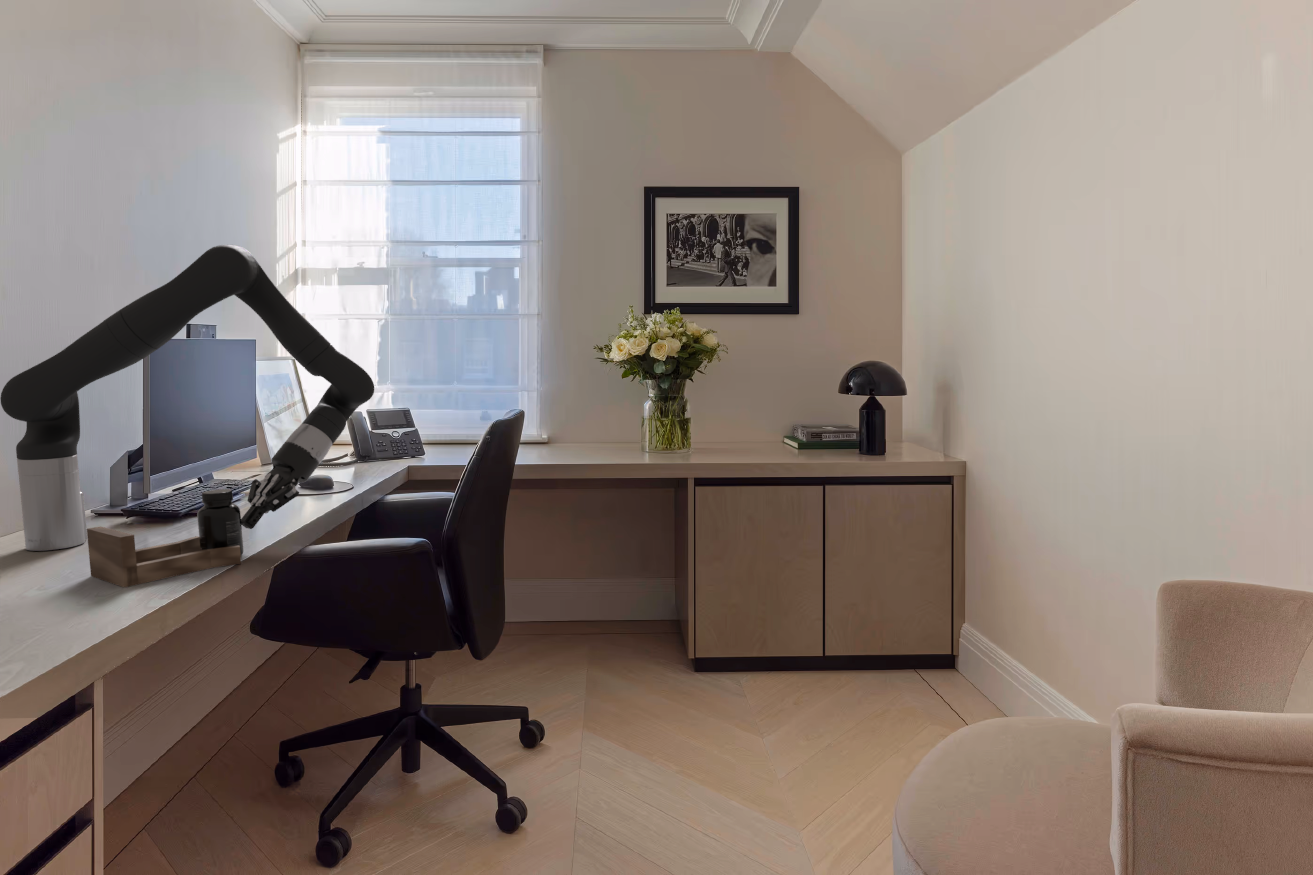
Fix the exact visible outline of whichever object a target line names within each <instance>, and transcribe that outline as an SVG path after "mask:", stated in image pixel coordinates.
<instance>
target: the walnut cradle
mask: <svg viewBox="0 0 1313 875" xmlns="http://www.w3.org/2000/svg"><path fill="white" fill-rule="evenodd" d="M86 529H87V544H88V545H87V546H88V548H87V549H88V557H89V567H90V569H89V570H90V577H92V578H94V579H98V580H101V581H104V582H107V583H110V584H113V585H117V586H119V587H122V588H128V587H133V586H137V585H141V584H147V583H151V582H155V581H159V580H164V579H168V578H172V577H176V576H182V575H186V574H190V573H196V572H199V571H204V570H205V571H206V570H209V569H212V568H213V569H214V568H221V567H227V566H234V565H240V564H242V558H241V557H242V555H241V553H240V546H239V545H238V546H230V547H223V548H215V549H207V550H201V551H200V540H199V535H198V536H192V537H189V538H185V539H181V540H177V541H174V542H168V543H164V544H159V545H153V546H148V547H143V548H137V549H136V541H135V534H132V533H127V532H124V531H121V530H120V531H119V530H116V529H112V528H109V527H104V526H95V527H89V528H86Z"/></svg>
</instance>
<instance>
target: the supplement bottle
mask: <svg viewBox="0 0 1313 875" xmlns="http://www.w3.org/2000/svg"><path fill="white" fill-rule="evenodd" d="M201 498H202V500H201V503H202V504H203V506H202V507H201V508H200V509H199V510H198V511H197V514H196V515H197V517H196V518H197V529H198V536H199V540H200V551H201V550H207V549H215V548H223V547H230V546H238V545H239V546H240V553H241V556H243V554H244V540H243V528H242V527H243V525H241V519H242V517H241V516H242V515H241V509H240V507H239V505H237V504H235V503H233V501H234V496H233V490H232V489H229V488H227V489H226V488H225V489H223V488H222V489H213V490H211V489H210V490H206V491H203V492H201Z"/></svg>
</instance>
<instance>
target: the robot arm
mask: <svg viewBox="0 0 1313 875" xmlns="http://www.w3.org/2000/svg"><path fill="white" fill-rule="evenodd" d="M232 296H235V297H236V298H238V299H240V301H242V302H243V303H244V304H245V305H247V306H248V307H249V308H250V309H251V310H253V311H254V312H255V313H256V314H257V315H258V316H259V318H260V319H261V320H262V321H263V322H264V323H265V325H266V326H267V327H268V329H269V330H270V331H271V332H272V334H273V335H274V337H275V338H276V339H277V341H278V342H279V344H281V346H282V347H283V349H285V351H286V352H287V353H288V354H290V356H291V357H292V358H293V359H294V360H295V361H297V363H299V364H300V365H301V366H302V367H303V368H304V369H305V371H307V372H308V374H310V375H312V376H313V377H322V378H323V379H324V380H326V381H327V382H328V383H330V385H329V386H328V388H327V389H326V390H325V392H324V393H323V395H322V397H321V398H320V400H319V401H318V404H317V405H316V406H315V407H314V408H313V409H312V410H311V412H310V413H309V414H308V415H307V416H306V418H305V419H304V420H303V421H302V423H301V424H300V425H299V426H298V427H297V428H296V429H295V430H294V431H293V432H292V433H291V434H290V435H289V437H287V439H286V440H285V442H284V443H283V444H282V445H281V446H280V448H279V449H278V450H277V451H276V453H275V454H274V455H273V456H272V458H271V464H272V467H273V468H272V469H271V470H270V471H268V472H267V473H266V475H265V476H264V478H263V479H261V480H258V479H257V478H255V479H253V480H252V481H251V484H250V489H249V492H248V497H247V502H248V503H249V504H250V507H249V509H248V510H247V511H246V512H245V514H243V515H242V517H241V526H242V527H244V528H245V529H249V530H252V529H254V528H255V527H256V525H257V524H258V523H259V521H260V520H261V519H262V517H263V516H264V515H265V514H268V513H269V512H270V511H271V512H273V513H275V512H276V511H278V510H279V509H280V508H282V507H283V506H285V505H287V504H288V503H289V502H291V501H292V500H293V499H295V498H297V497H298V496H299V494H300V492H299V491H298V489H297V488H296V487H297V486H298V484H299V483H305V482H307V481H308V480H309V479H310V477H311V476H312V475H313V473H314V472H315V471H316V469H317V468H318V467H319V465H320V464H321V463H322V462H323V460H324V459H325V457H326V456H327V455H328V453H329V452H330V449H331V448H332V446H333V445H334V443H335V442H336V441H337V439H339V437H340V435H342V433H343V432H344V430H345V428H346V426H347V421H348V420H349V419H350V418H351V416H352V415H353V413H355V411H356V410H357V409H358V408H359V407H360V406H361V405H364V404H365V403H367V402H368V401H370V399H372V397H373V395H374V392H375V383H374V381H373V379H372V377H371V375H369V373H368V372H367V371H366V370H365V369H364V368H362V367H361V366H360V365H359V364H357V363H356V362H354V361H353V360H352V359H350V358H349V357H348V356H346V355H344V354H343V353H341V352H339V351H338V350H337V349H336V348H335V347H334V345H333V344H331V342H330V341H329V340H327V338H325V336H324V335H322V333H321V332H320V331H319V330H318V329H317V328H315V327H314V325H312V324H311V323H310V322H309V321H308V320H307V319H306V318H305V317H304V316H303V315H302V314H301V313H300V312H299V311H298V309H296V308H295V307H294V306H293V305H292V303H291V302H290V301H288V299H287V298H286V297H285V296H284V295H283V294H282V293H281V291H280V290H279V289H278V288H277V286H276V285H275V284H274V283H273V281H272V280H271V278H270V277H269V276H268V274H267V273H266V272H265V271H264V269H263V268H262V266H261V265H260V263H259V262H258V261H257V259H256V257H254V255H253V254H252V252H250V251H249V250H247V248H245V247H242V246H240V245H235V244H221V245H220V244H219V245H216V246H212V247H211V248H209V249H206V251H205V252H203V253H202V254H201V255H200V256H199V257H198V258H197V259H196V260H194V261H193V262H192V263H191V264H190V265H189V266H188V267H186V268H185V269H184V270H182V271H181V272H180V273H179V274H178V275H177V276H175V277H174V278H172V279H171V280H169V282H167V283H165V284H164V285H162V286H159V287H158V288H155V289H153V290H151V291H150V292H147V293H146V294H143V295H142V296H140V297H139V298H137V299H135V300H133V301H132V302H130V303H128V304H127V305H125V306H124V307H122V308H121V309H119V310H117V311H116V312H115V313H113V314H112V315H110V316H108V317H107V318H105V319H104V320H103V321H102V322H100V323H98V324H97V325H96V326H94V327H92V328H91V329H90V330H89V331H87V332H86V333H84V334H83V335H81V336H80V337H78V338H77V339H76V340H74V341H73V342H72V343H71V344H69V345H68V346H66V347H64V348H63V349H62V350H61V351H59V352H57V353H56V354H55V355H52V356H51V357H49V358H48V359H45V360H43V361H41V362H40V363H37V364H36V365H34V366H32V367H30V368H28V369H26V370H24V371H22V372H19V373H18V374H16V375H14V376H13V377H12V378H10V379H9V380H8V381H7V382H6V384H4V386H3V388H2V391H1V393H0V405H1V407H2V409H3V410H2V411H3V412H5V413H6V415H8V416H9V417H10V418H12V419H14V420H16V421H20V422H26V429H25V432H24V435H23V437H22V439H21V440H20V441H19V442H18V443H17V444H16V447H15V452H16V458H17V459H16V463H17V472H18V483H19V484H18V485H19V493H20V505H21V514H22V522H23V523H22V524H23V536H24V544H25V546H24V547H25V550H26V551H31V552H33V551H41V552H42V551H44V552H45V551H52V550H53V551H54V550H59V549H61V550H62V549H67V548H72V547H73V548H74V547H76V546H80V545H82V544H84V543H85V542H86V540H87V541H88V537H87V529H88V528H87V519H86V509H85V498H84V497H85V496H84V493H83V492H82V491H81V482H80V480H81V479H80V471H79V470H80V469H79V460H78V451H77V450H78V443H79V441H80V437H81V418H80V417H81V416H80V401H79V394H78V391H80V390H81V389H83V388H84V387H86V386H88V385H89V384H91V383H94V382H95V381H97V380H101V379H102V378H105V377H107V376H110V375H113V374H115V373H116V372H117V373H118V372H119V371H121V370H123V369H126V368H129V367H131V366H133V365H134V364H137V363H139V362H140V361H142V360H144V359H146V357H149V355H151V354H152V353H154V352H155V351H157V350H159V349H160V348H162V347H163V346H164V345H165V344H167V343H169V341H171V340H172V339H173V338H174V337H175V336H176V335H177V334H178V333H179V332H180V331H182V329H184V328H185V327H186V326H187V325H188V323H189V322H190V321H192V320H193V319H194V318H195V317H197V316H198V315H199V314H201V313H202V312H203V311H205V310H208V309H209V308H211V307H213V306H214V305H216V304H218V303H219V302H222V301H224V300H226V299H228V298H229V297H232Z"/></svg>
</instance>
